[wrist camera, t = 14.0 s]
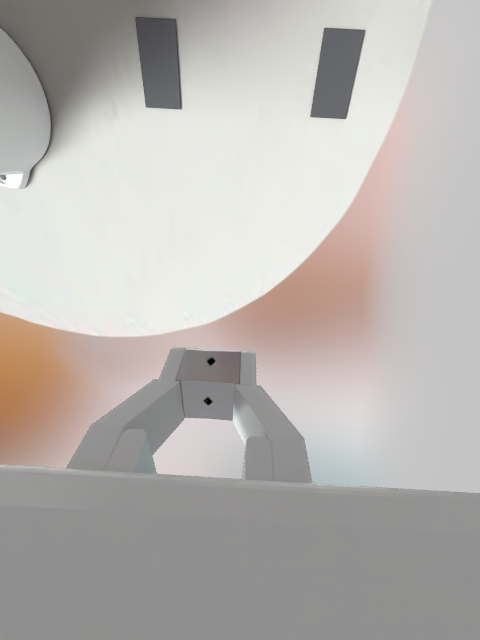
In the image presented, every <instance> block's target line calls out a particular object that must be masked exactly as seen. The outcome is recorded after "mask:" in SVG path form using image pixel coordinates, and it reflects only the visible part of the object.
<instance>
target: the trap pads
mask: <svg viewBox="0 0 480 640" xmlns="http://www.w3.org/2000/svg"><path fill="white" fill-rule="evenodd" d="M135 18H136V27H137V35H138V44H139V52H140V61H141V69H142V78H143V86H144V95H145V103H146V107H151V108H168V109H181V103H180V86H179V69H178V53H177V36H176V20H174V19H157V18H140V17H135ZM363 36H364V31H363V30H346V29H328V28H325V29H324V34H323V40H322V47H321V53H320V59H319V66H318V72H317V78H316V85H315V91H314V97H313V104H312V110H311V116H310V117H320V118H337V119H345V118H346V114H347V109H348V104H349V100H350V95H351V91H352V86H353V81H354V77H355V72H356V68H357V63H358V59H359V54H360V49H361V45H362V40H363Z"/></svg>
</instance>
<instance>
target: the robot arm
mask: <svg viewBox="0 0 480 640" xmlns="http://www.w3.org/2000/svg"><path fill="white" fill-rule="evenodd" d="M50 133H51V122H50V113H49V108H48V104H47V100H46V97H45V94H44V91H43V88H42V86H41V83H40V81H39V79H38V77H37V75H36V73H35V71H34V69H33V68H32V66H31V64H30V63H29V61H28V60H27V58H26V57H25V55H24V54H23V52H22V51H21V50H20V48H19V47H18V46H17V45H16V44H15V42H14V41H13V40H12V39H11V38H10V37H9V36H8V35H7V34H6V33H5V32H4V31H3V30H2V29H1V28H0V185H1V186H5V187H9V188H13V189H23V188H25V187H26V185H27V183H28V179H29V175H30V170H31V169H32V167H33V166H34V165H35V164H36V163H37V162H38V161H39V160H40V159H41V158H42V157H43V155H44V154H45V152H46V150H47V147H48V144H49V140H50ZM4 175H5V176H6V178H5V177H4ZM184 418H209V419H220V420H232V421H233V423H234V425H235V427H236V429H237V431H238V433H239V435H240V437H241V438H242V440H243V442H244V444H245V446H246V447H245V456H244V465H243V475H242V479H232V478H216V477H199V476H183V475H166V474H157V473H156V469H155V465H154V461H153V457H152V455H153V454H154V453H155V452H156V450H157V449H158V448H159V447H160V446H161V445H162V444H163V443H164V441H165V440H166V439H167V438H168V437H169V436H170V435H171V434H172V432H173V431H174V430H175V429H176V428H177V427H178V426H179V425H180V423H181V422H182V421H183V420H184ZM0 640H480V493H463V492H448V491H431V490H414V489H398V488H382V487H365V486H349V485H331V484H316V483H315V484H314V483H312V479H311V473H310V468H309V462H308V457H307V452H306V446H305V441H304V438H303V436H302V435H301V434H300V433H299V432H298V430H297V429H296V428H295V427H294V425H293V424H292V423H291V422H290V421H289V420H288V418H287V417H286V416H285V415H284V413H283V412H282V411H281V410H280V409H279V407H278V406H277V405H276V404H275V403H274V401H273V400H272V399H271V398H270V396H269V395H268V394H267V393H266V392H265V390H264V389H263V388H262V387H261V386H258V385H256V353H255V352H254V351H228V350H227V351H226V350H211V349H199V348H183V347H172V348H171V350H170V353H169V355H168V357H167V360H166V362H165V365H164V367H163V370H162V372H161V375H160V377H159V380H158V379H154V380H153V381H151V382H150V383H148V384H147V385H146V386H145V387H143V388H142V389H140V390H139V391H137V392H136V393H135V394H133V395H132V396H130V397H129V398H128V399H126V400H125V401H124V402H122V403H121V404H120V405H118V406H117V407H115V408H114V409H113V410H111V411H110V412H108V413H107V414H106V415H104V416H103V417H101V418H100V419H99V420H97V421H96V422H94V423H93V424H92V425H91V426H90V428H89V430H88V431H87V433H86V435H85V436H84V438H83V440H82V441H81V443H80V445H79V447H78V448H77V450H76V452H75V454H74V455H73V457H72V459H71V461H70V462H69V464H68V466H67V467H66V468H49V467H33V466H16V465H15V466H14V465H0Z"/></svg>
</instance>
